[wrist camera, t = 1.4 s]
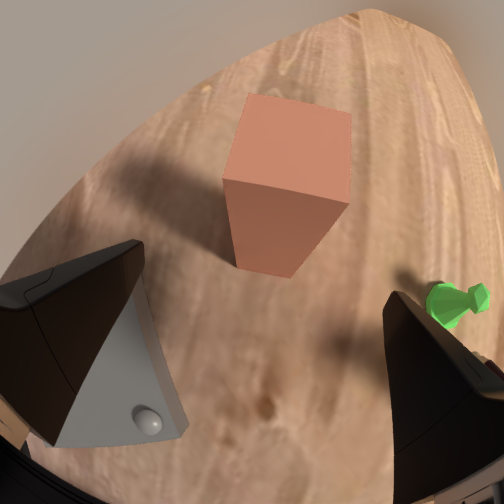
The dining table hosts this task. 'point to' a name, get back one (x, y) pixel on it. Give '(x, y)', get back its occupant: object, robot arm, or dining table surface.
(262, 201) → the pillar brick
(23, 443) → the robot arm
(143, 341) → the base brick
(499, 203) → the dining table surface
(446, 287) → the game piece
